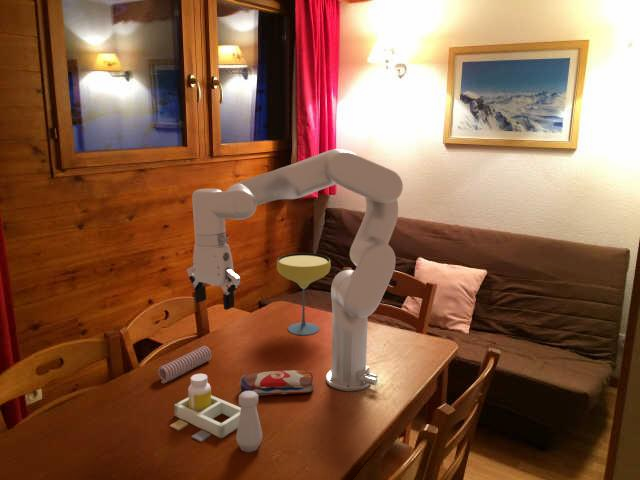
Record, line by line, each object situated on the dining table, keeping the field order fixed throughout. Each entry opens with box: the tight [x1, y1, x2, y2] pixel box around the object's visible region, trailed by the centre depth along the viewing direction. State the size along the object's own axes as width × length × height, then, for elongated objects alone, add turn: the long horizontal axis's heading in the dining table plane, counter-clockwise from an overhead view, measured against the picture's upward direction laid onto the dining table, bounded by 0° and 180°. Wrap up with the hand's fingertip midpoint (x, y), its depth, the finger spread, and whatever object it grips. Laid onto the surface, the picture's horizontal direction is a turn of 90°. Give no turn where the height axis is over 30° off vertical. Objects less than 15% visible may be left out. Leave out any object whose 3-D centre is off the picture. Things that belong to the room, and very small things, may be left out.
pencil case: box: [238, 369, 315, 397], centre depth 141 cm, size 11×20×5 cm, turn 82°
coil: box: [157, 345, 212, 384], centre depth 152 cm, size 5×5×18 cm
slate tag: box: [191, 429, 212, 443], centre depth 121 cm, size 3×3×1 cm
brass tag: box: [169, 419, 189, 432], centre depth 125 cm, size 3×3×1 cm
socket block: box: [173, 394, 241, 439], centre depth 128 cm, size 16×8×3 cm, turn 55°
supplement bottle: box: [187, 373, 212, 413], centre depth 130 cm, size 5×5×10 cm
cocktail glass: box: [276, 252, 332, 336], centre depth 180 cm, size 18×18×25 cm
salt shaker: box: [235, 391, 263, 453], centre depth 116 cm, size 6×6×13 cm
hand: (214, 304), depth 134 cm, fingers open, 9 cm apart
